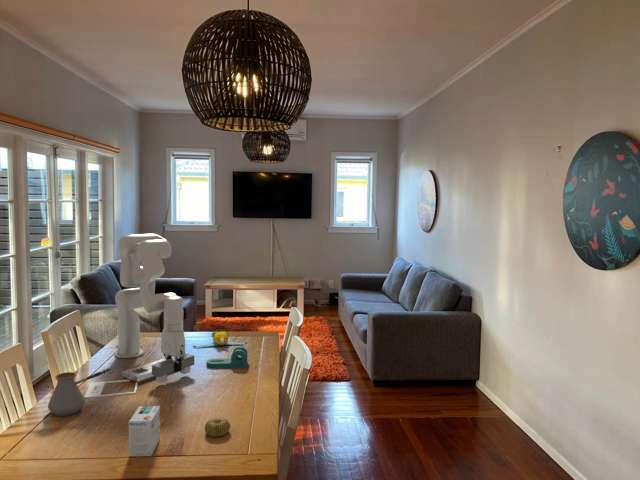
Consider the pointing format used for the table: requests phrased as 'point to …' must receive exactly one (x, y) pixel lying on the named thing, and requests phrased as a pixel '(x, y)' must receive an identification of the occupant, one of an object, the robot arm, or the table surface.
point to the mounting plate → (140, 373)
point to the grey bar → (171, 367)
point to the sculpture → (217, 427)
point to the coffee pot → (68, 394)
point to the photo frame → (97, 388)
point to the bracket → (231, 360)
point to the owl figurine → (219, 339)
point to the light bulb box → (144, 431)
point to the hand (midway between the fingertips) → (173, 369)
